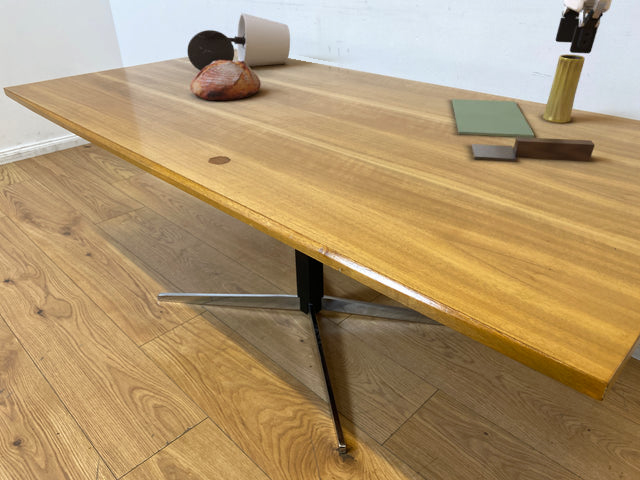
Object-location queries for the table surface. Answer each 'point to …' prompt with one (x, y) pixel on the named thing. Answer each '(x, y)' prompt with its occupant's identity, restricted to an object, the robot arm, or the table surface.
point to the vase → (564, 88)
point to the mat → (490, 118)
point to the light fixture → (243, 44)
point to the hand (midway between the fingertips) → (571, 47)
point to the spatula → (536, 150)
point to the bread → (225, 81)
